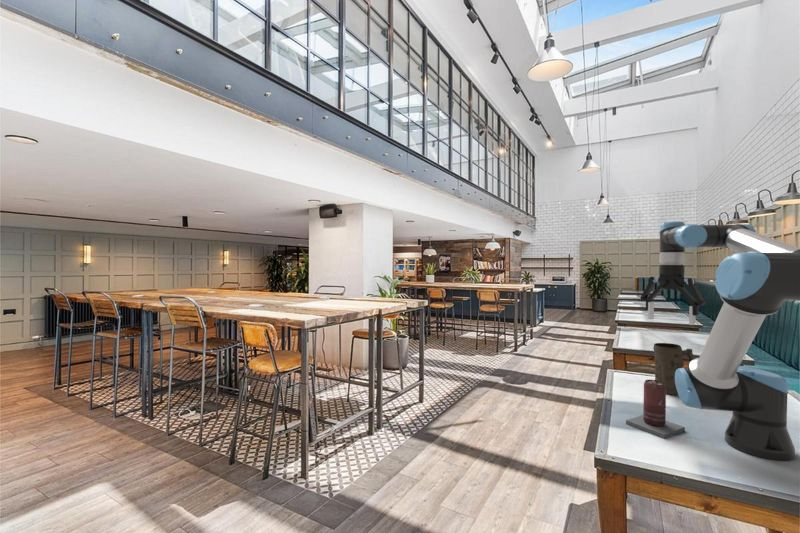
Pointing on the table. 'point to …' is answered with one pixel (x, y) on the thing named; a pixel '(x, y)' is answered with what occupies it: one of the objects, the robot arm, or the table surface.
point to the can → (654, 403)
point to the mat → (662, 432)
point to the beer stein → (669, 363)
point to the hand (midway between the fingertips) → (670, 321)
